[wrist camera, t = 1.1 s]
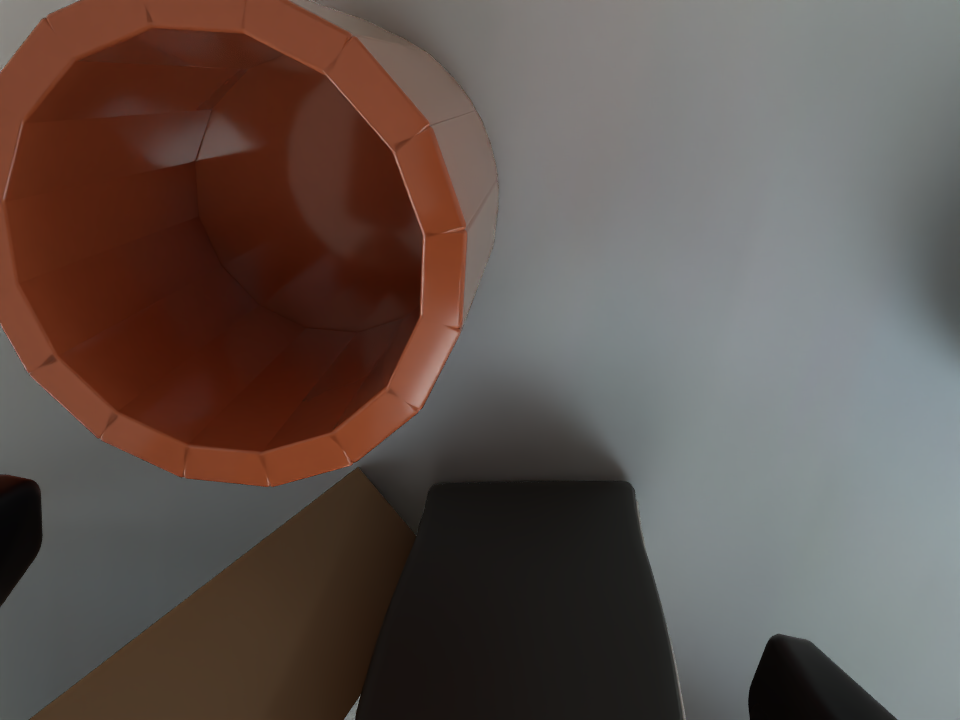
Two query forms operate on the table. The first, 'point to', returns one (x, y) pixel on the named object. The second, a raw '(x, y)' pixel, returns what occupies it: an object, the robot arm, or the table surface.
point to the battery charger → (525, 611)
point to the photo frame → (265, 625)
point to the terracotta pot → (237, 229)
